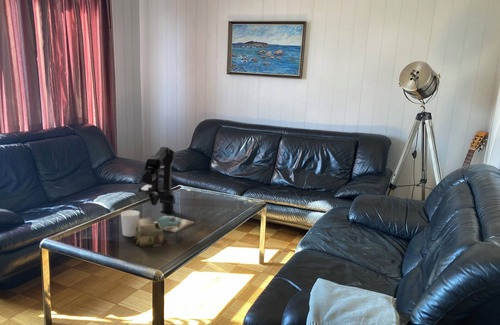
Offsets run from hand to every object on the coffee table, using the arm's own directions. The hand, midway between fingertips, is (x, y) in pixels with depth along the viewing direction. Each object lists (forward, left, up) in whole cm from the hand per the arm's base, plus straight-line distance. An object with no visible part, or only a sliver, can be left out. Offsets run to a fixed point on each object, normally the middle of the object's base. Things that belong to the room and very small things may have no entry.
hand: (154, 205), depth 232 cm
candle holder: (-1, -18, -12) cm, 21 cm away
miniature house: (+15, -20, -12) cm, 28 cm away
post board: (+8, +6, -12) cm, 16 cm away
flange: (+8, +4, -10) cm, 14 cm away
